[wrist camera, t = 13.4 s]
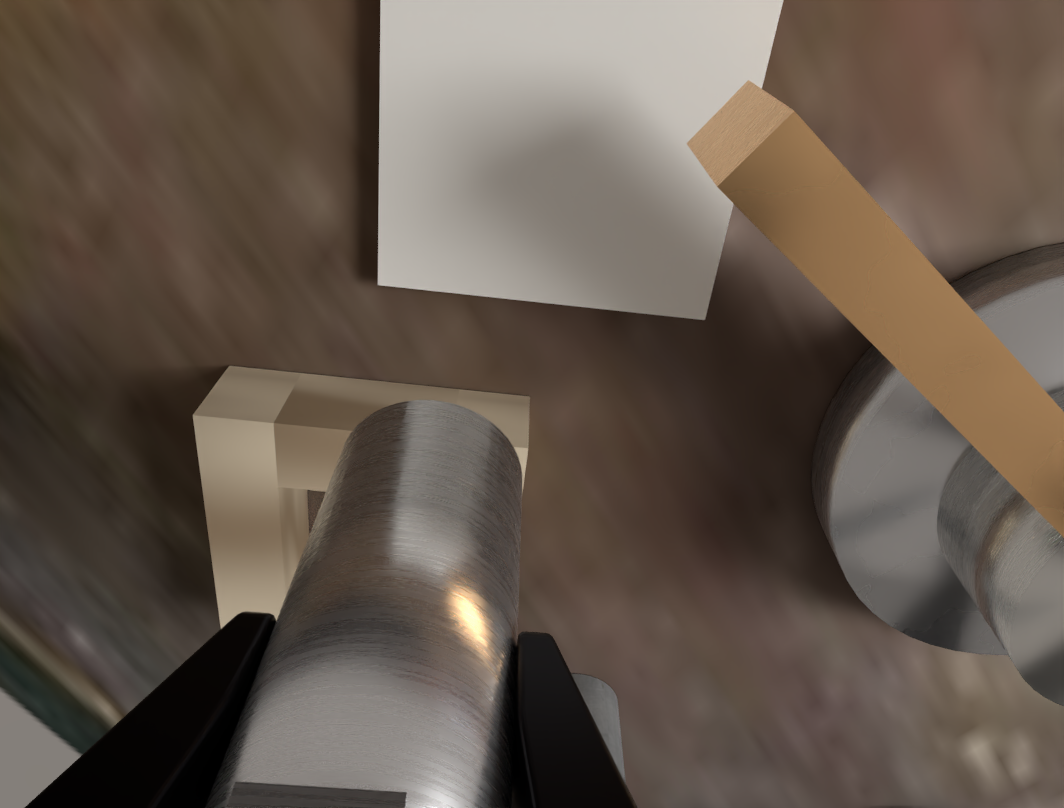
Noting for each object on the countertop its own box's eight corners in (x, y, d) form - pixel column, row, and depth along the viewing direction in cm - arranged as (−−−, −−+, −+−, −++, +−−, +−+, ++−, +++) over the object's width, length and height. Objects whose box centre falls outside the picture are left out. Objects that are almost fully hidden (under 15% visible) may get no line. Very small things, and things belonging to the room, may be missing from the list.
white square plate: (700, 310, 20) (704, 320, 19) (381, 275, 19) (377, 285, 19) (789, -57, 16) (797, -57, 15) (387, -109, 15) (381, -111, 15)
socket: (502, 610, 25) (498, 672, 23) (251, 587, 25) (223, 649, 23) (529, 396, 21) (528, 448, 19) (229, 365, 21) (192, 414, 18)
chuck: (1285, 491, 19) (1668, 777, 13) (1027, 637, 22) (1234, 934, 16) (861, -52, 14) (1163, -46, 7) (583, 236, 16) (610, 437, 10)
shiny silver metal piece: (510, 595, 14) (480, 1249, 7) (343, 583, 14) (145, 1237, 7) (536, 351, 12) (532, 996, 5) (333, 333, 11) (4, 968, 4)
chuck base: (1131, 621, 25) (1174, 671, 23) (763, 587, 24) (779, 636, 23) (1380, 267, 19) (1464, 299, 17) (897, 211, 18) (933, 239, 17)
